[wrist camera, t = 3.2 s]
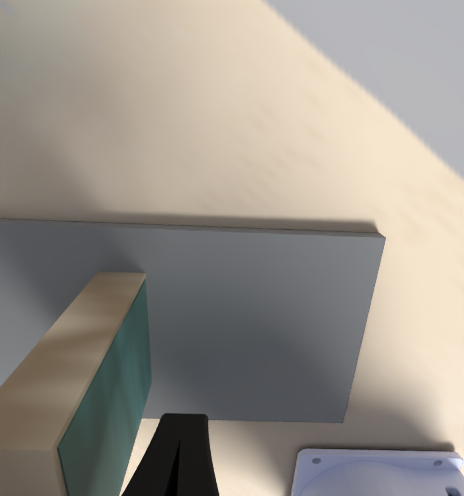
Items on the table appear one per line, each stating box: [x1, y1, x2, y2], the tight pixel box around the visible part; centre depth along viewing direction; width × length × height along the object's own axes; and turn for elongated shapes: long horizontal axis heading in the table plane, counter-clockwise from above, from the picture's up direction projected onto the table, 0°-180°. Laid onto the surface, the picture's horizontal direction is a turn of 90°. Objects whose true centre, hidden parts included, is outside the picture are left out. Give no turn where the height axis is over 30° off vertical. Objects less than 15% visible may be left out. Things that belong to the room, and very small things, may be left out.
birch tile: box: [0, 271, 152, 496], centre depth 11 cm, size 2×6×8 cm, turn 178°
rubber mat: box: [0, 219, 386, 423], centre depth 15 cm, size 22×10×1 cm, turn 87°
